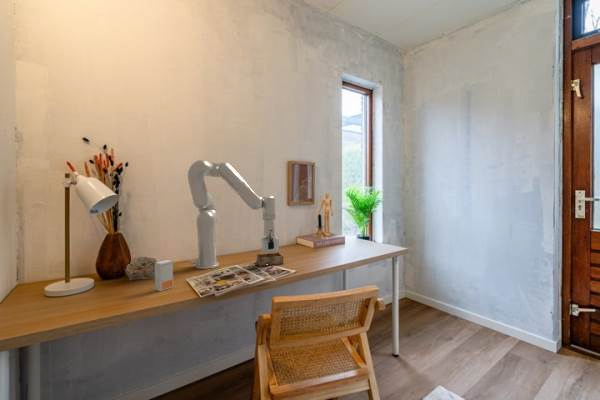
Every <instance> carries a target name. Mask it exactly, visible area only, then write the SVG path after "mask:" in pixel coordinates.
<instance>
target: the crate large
mask: <svg viewBox="0 0 600 400" xmlns="http://www.w3.org/2000/svg"><path fill="white" fill-rule="evenodd" d="M256 263H257V265H258V264H259V265H266V264H268V265H266V266H277V265H283V264H284V255H283V254H281V252H269V253H259V254H256ZM259 265H258V266H259Z"/></svg>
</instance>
